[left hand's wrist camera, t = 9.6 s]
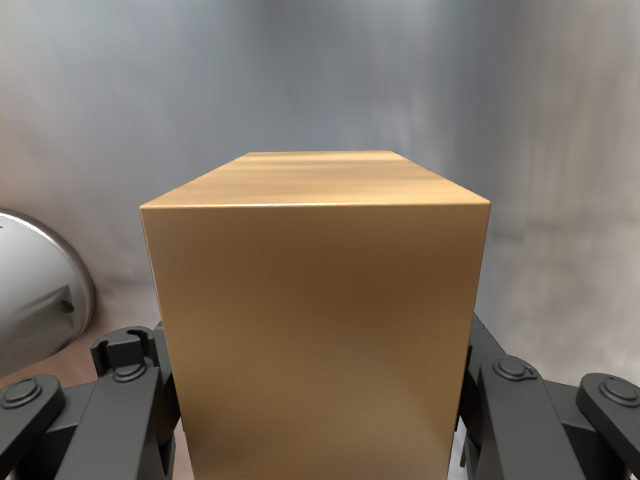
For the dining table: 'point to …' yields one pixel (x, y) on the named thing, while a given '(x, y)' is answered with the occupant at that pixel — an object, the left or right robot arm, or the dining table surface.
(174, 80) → the dining table surface
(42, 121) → the dining table surface
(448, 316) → the post
